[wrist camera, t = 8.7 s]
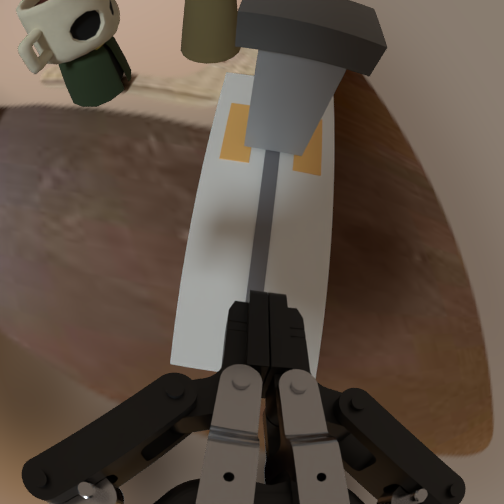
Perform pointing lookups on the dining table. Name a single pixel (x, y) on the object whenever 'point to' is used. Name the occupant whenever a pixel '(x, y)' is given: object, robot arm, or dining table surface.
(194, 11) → the cork
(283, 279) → the fader console
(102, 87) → the character mug
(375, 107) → the dining table surface
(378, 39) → the fader knob
